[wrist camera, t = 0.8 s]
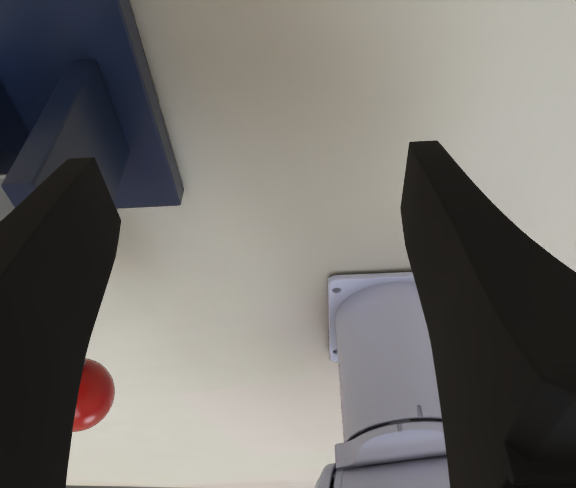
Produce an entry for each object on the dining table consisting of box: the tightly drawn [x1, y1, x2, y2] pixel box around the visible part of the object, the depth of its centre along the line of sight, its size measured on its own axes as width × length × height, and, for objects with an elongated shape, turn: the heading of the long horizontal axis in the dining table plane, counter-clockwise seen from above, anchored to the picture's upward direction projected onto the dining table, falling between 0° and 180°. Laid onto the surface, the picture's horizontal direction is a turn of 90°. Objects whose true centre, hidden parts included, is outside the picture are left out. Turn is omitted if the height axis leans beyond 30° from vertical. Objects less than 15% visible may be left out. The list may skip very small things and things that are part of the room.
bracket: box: [0, 0, 184, 209], centre depth 19 cm, size 11×8×8 cm
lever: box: [0, 151, 115, 432], centre depth 20 cm, size 12×3×3 cm, turn 3°
